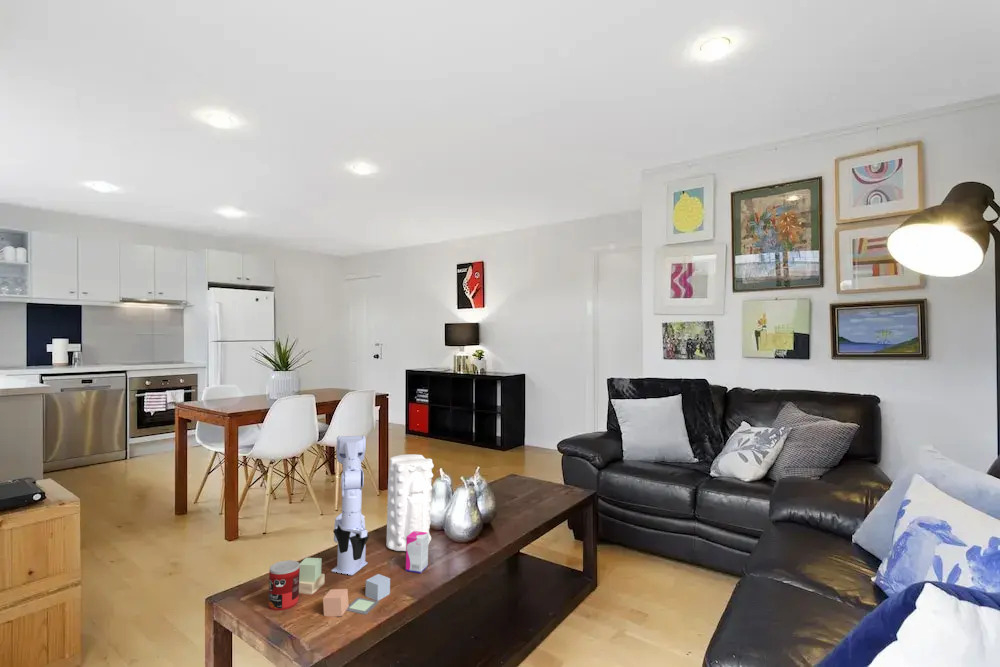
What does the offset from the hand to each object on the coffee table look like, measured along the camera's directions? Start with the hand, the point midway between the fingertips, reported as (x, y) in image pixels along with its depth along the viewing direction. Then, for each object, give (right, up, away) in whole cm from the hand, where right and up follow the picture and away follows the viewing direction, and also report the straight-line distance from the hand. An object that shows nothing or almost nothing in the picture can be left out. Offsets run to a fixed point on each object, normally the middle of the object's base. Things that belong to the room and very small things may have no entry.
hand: (350, 555), depth 154 cm
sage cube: (-12, -7, 0) cm, 14 cm away
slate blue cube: (+9, -11, -3) cm, 14 cm away
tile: (+6, -11, -9) cm, 15 cm away
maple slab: (-13, -11, 0) cm, 17 cm away
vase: (+11, -11, +35) cm, 38 cm away
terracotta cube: (0, -10, -13) cm, 16 cm away
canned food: (-16, -10, -9) cm, 21 cm away
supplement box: (+18, -11, +15) cm, 26 cm away
